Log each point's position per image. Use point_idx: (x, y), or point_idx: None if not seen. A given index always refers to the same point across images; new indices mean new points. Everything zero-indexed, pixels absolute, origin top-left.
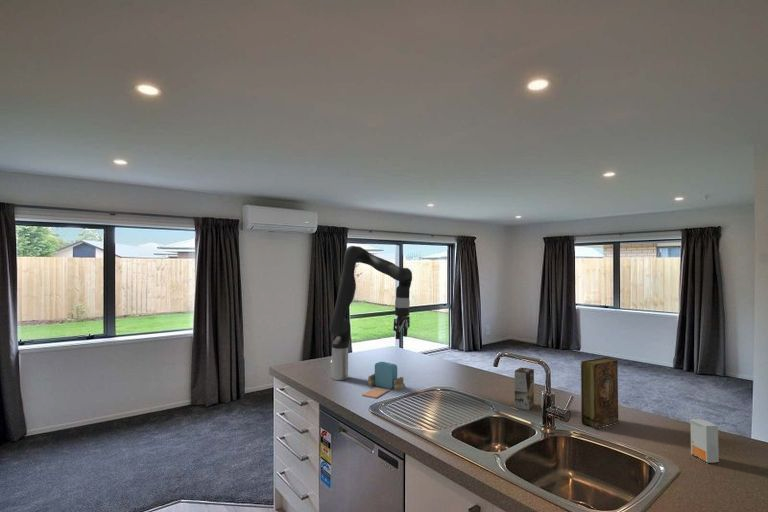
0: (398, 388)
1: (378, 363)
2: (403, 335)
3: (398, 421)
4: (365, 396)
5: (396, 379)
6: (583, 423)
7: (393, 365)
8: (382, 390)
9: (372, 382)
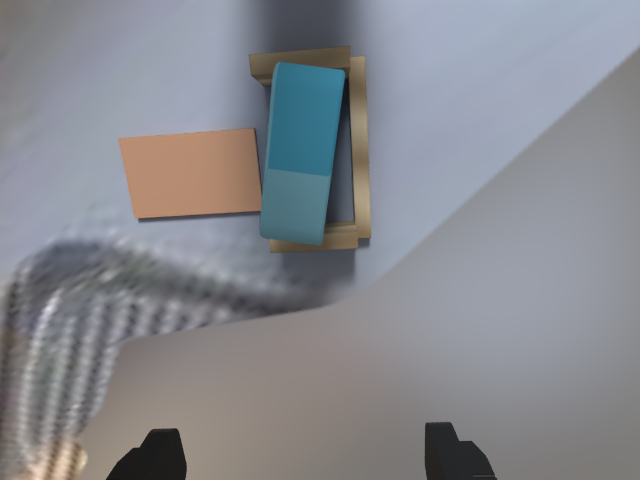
0: None
1: (271, 102)
2: (428, 438)
3: (23, 394)
4: (126, 159)
5: None
6: None
7: (291, 233)
8: (231, 188)
9: None
